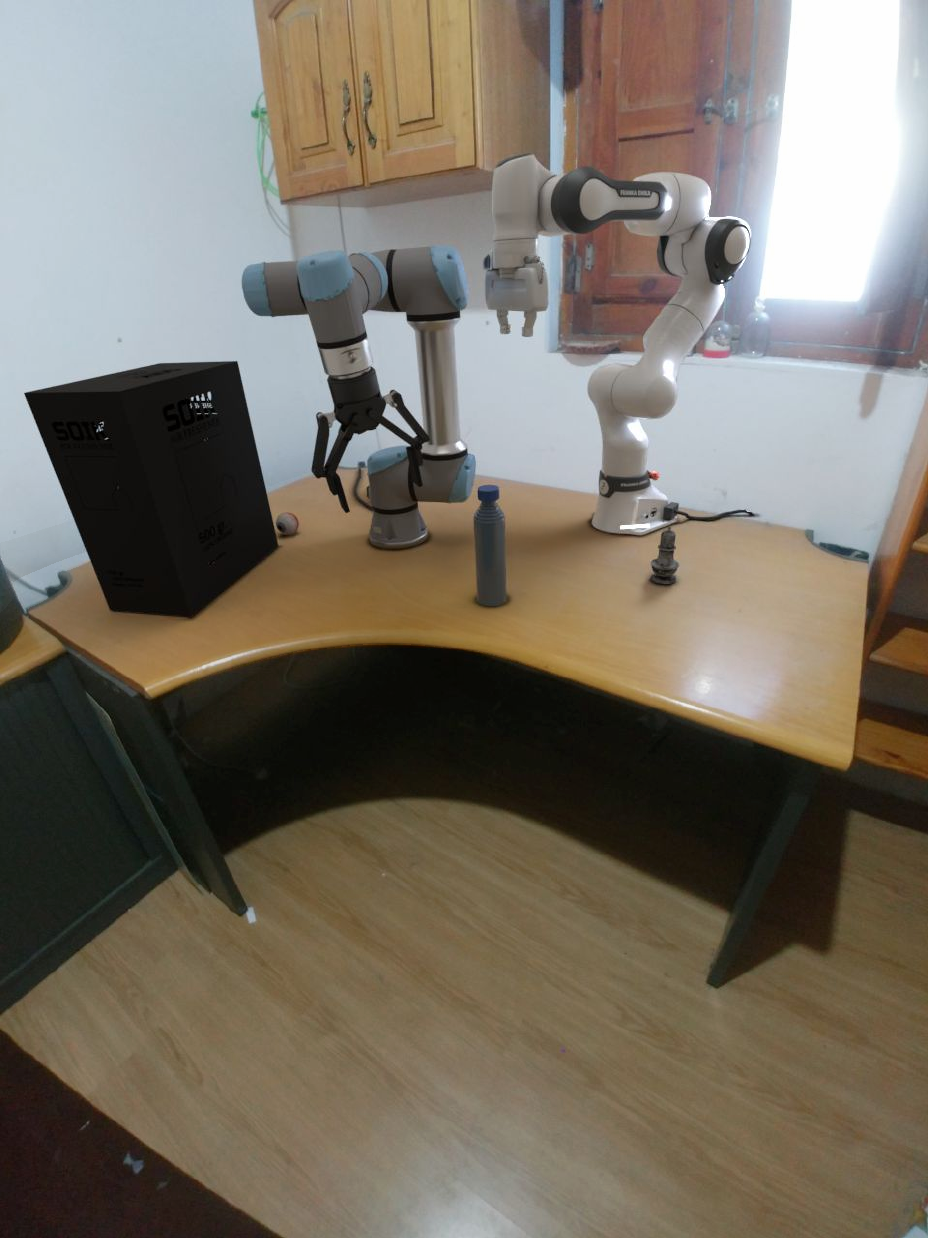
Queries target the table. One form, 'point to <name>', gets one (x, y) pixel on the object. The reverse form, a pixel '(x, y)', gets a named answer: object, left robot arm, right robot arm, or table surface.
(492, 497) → the cap
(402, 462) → the left robot arm
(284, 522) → the eyeball
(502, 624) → the table surface
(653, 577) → the grey tapered ringed piece
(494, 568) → the bottle
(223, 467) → the cardboard box
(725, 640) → the table surface
